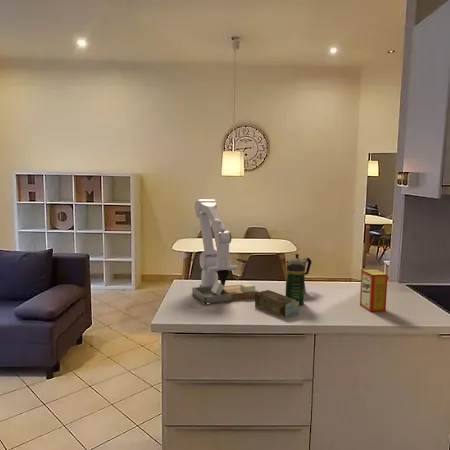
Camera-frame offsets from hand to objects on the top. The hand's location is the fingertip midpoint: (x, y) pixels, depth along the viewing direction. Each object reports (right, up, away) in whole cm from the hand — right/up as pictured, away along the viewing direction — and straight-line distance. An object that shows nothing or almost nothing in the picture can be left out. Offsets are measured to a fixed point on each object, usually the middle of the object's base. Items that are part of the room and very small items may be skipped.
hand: (222, 286), depth 195 cm
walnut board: (+7, -4, 0) cm, 8 cm away
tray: (-5, -5, -5) cm, 9 cm away
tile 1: (-2, -1, -1) cm, 3 cm away
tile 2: (+12, 0, -3) cm, 12 cm away
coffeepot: (+37, -4, +10) cm, 38 cm away
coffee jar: (+31, -6, -12) cm, 34 cm away
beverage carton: (+22, -7, -22) cm, 32 cm away
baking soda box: (+63, -7, -18) cm, 66 cm away
